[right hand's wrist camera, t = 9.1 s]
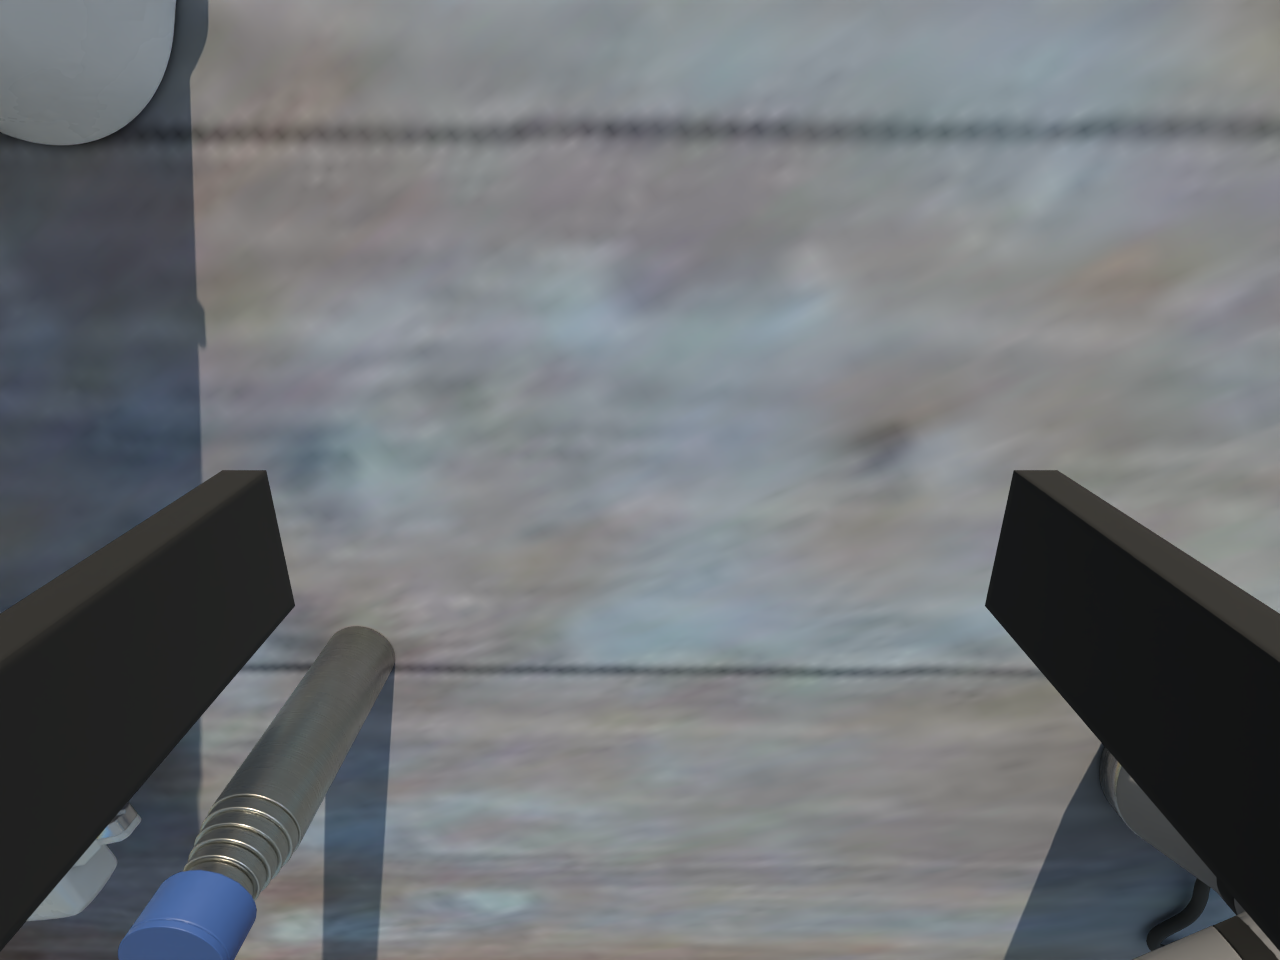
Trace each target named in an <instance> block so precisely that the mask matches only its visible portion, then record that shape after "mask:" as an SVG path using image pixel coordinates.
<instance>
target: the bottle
mask: <svg viewBox="0 0 1280 960" xmlns="http://www.w3.org/2000/svg"><path fill="white" fill-rule="evenodd" d="M394 664H395V654H394V650H393V648H392V646H391V644H390V643H389V642H388V640H387V639H386V638H385V637H384V636H382V635H381V634H380V633H378V632H376V631H374V630H372V629H369V628H365V627H348V628H345V629H342V630H340V631H338V632H337V633H336V634H334V635H333V636H332V638H331V639H330V641H329V642H328V643H327V645H326V646H325V648H324V649H323V651H322V652H321V653H320V655H319V656H318V658H317V659H316V660H315V662H314V663H313V665H312V666H311V667H310V669H309V670H308V672H307V673H306V675H305V676H304V677H303V679H302V680H301V682H300V683H299V684H298V686H297V687H296V689H295V690H294V691H293V693H292V694H291V696H290V697H289V699H288V700H287V701H286V703H285V704H284V706H283V707H282V708H281V710H280V711H279V713H278V714H277V715H276V717H275V718H274V720H273V721H272V723H271V724H270V725H269V727H268V728H267V730H266V731H265V732H264V734H263V735H262V737H261V738H260V739H259V741H258V742H257V744H256V745H255V747H254V748H253V749H252V751H251V752H250V754H249V755H248V756H247V758H246V759H245V761H244V762H243V763H242V765H241V766H240V768H239V769H238V771H237V772H236V773H235V775H234V776H233V778H232V779H231V780H230V782H229V783H228V785H227V786H226V787H225V789H224V790H223V792H222V793H221V795H220V796H219V797H218V799H217V800H216V802H215V803H214V804H213V806H212V807H211V809H210V810H209V813H208V816H207V817H206V819H205V820H204V821H203V823H202V826H201V829H200V833H199V834H198V836H197V837H196V840H195V843H194V848H193V849H192V851H191V852H190V854H189V858H188V863H187V864H186V865H185V867H184V869H183V871H190V870H204V871H211V872H215V873H220V874H222V875H224V876H227V877H229V878H231V879H233V880H235V881H237V882H238V883H240V884H241V885H242V886H243V887H244V888H245V889H246V890H247V891H248V892H249V893H250V894H251V896H252V897H253V900H254V901H255V900H256V899H257V898H258V896H259V894H260V892H261V891H263V890H264V889H265V888H266V887H267V886H268V885H269V883H270V881H271V880H272V879H273V878H274V877H275V876H276V875H277V874H278V873H279V871H280V870H281V868H282V867H283V866H284V865H285V864H286V863H287V862H288V861H289V860H290V858H291V856H292V854H293V852H295V850H296V849H297V848H298V846H299V844H300V842H301V840H302V839H303V837H304V835H305V833H306V831H307V829H308V827H309V825H310V824H311V822H312V820H313V818H314V816H315V814H316V812H317V810H318V808H319V807H320V805H321V803H322V801H323V799H324V797H325V795H326V793H327V791H328V790H329V788H330V786H331V784H332V782H333V780H334V778H335V776H336V774H337V773H338V771H339V769H340V767H341V765H342V763H343V761H344V759H345V758H346V756H347V754H348V752H349V750H350V748H351V746H352V744H353V742H354V741H355V739H356V737H357V735H358V733H359V731H360V729H361V727H362V725H363V724H364V722H365V720H366V718H367V716H368V714H369V712H370V710H371V709H372V707H373V705H374V703H375V701H376V699H377V697H378V695H379V693H380V692H381V690H382V688H383V686H384V684H385V682H386V680H387V678H388V676H389V675H390V673H391V671H392V669H393V667H394Z"/></svg>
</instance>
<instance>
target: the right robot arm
mask: <svg viewBox="0 0 1280 960" xmlns="http://www.w3.org/2000/svg"><path fill="white" fill-rule="evenodd" d="M294 606H295V603H294V599H293V594H292V589H291V585H290V580H289V575H288V571H287V566H286V561H285V556H284V552H283V547H282V542H281V538H280V533H279V528H278V524H277V519H276V514H275V510H274V505H273V500H272V495H271V491H270V486H269V481H268V477H267V472H266V470H222V471H221V472H219V473H218V474H216V475H215V476H213V477H212V478H210V479H209V480H207V481H205V482H204V483H202V484H201V485H199V486H198V487H196V488H195V489H193V490H191V491H190V492H188V493H187V494H185V495H184V496H182V497H181V498H179V499H178V500H176V501H174V502H173V503H171V504H170V505H168V506H167V507H165V508H164V509H162V510H160V511H159V512H157V513H156V514H154V515H153V516H151V517H150V518H148V519H147V520H145V521H143V522H142V523H140V524H139V525H137V526H136V527H134V528H133V529H131V530H129V531H128V532H126V533H125V534H123V535H122V536H120V537H119V538H117V539H116V540H114V541H112V542H111V543H109V544H108V545H106V546H105V547H103V548H102V549H100V550H98V551H97V552H95V553H94V554H92V555H91V556H89V557H88V558H86V559H85V560H83V561H81V562H80V563H78V564H77V565H75V566H74V567H72V568H71V569H69V570H67V571H66V572H64V573H63V574H61V575H60V576H58V577H57V578H55V579H54V580H52V581H50V582H49V583H47V584H46V585H44V586H43V587H41V588H40V589H38V590H36V591H35V592H33V593H32V594H30V595H29V596H27V597H26V598H24V599H23V600H21V601H19V602H18V603H16V604H15V605H13V606H12V607H10V608H9V609H7V610H5V611H4V612H2V613H1V614H0V951H1V950H2V949H3V948H4V947H5V945H6V944H7V943H8V942H9V941H10V939H11V938H12V937H13V936H14V935H15V934H16V932H17V931H18V930H19V929H20V928H21V927H22V925H23V924H24V923H25V922H26V921H27V920H28V918H29V917H30V916H31V915H32V914H33V913H34V911H35V910H36V909H37V908H38V907H39V905H40V904H41V903H42V902H43V901H44V900H45V898H46V897H47V896H48V895H49V894H50V893H51V891H52V890H53V889H54V888H55V887H56V886H57V884H58V883H59V882H60V881H61V880H62V878H63V877H64V876H65V875H66V874H67V873H68V871H69V870H70V869H71V868H72V867H73V866H74V864H75V863H76V862H77V861H78V860H79V859H80V857H81V856H82V855H83V854H84V853H85V852H86V850H87V849H88V848H89V847H90V846H91V844H92V843H93V842H94V841H95V840H96V839H97V837H98V836H99V835H100V834H101V833H102V832H103V830H104V829H105V828H106V827H107V826H108V825H109V823H110V822H111V821H112V820H113V819H114V817H115V816H116V815H117V814H118V813H119V812H120V810H121V809H122V808H123V807H124V806H125V805H126V803H127V802H128V801H129V800H130V799H131V798H132V796H133V795H134V794H135V793H136V792H137V791H138V789H139V788H140V787H141V786H142V785H143V783H144V782H145V781H146V780H147V779H148V778H149V776H150V775H151V774H152V773H153V772H154V771H155V769H156V768H157V767H158V766H159V765H160V764H161V762H162V761H163V760H164V759H165V758H166V756H167V755H168V754H169V753H170V752H171V751H172V749H173V748H174V747H175V746H176V745H177V744H178V742H179V741H180V740H181V739H182V738H183V737H184V735H185V734H186V733H187V732H188V731H189V730H190V728H191V727H192V726H193V725H194V724H195V722H196V721H197V720H198V719H199V718H200V717H201V715H202V714H203V713H204V712H205V711H206V710H207V708H208V707H209V706H210V705H211V704H212V703H213V701H214V700H215V699H216V698H217V697H218V695H219V694H220V693H221V692H222V691H223V690H224V688H225V687H226V686H227V685H228V684H229V683H230V681H231V680H232V679H233V678H234V677H235V676H236V674H237V673H238V672H239V671H240V670H241V669H242V667H243V666H244V665H245V664H246V663H247V661H248V660H249V659H250V658H251V657H252V656H253V654H254V653H255V652H256V651H257V650H258V649H259V647H260V646H261V645H262V644H263V643H264V642H265V640H266V639H267V638H268V637H269V636H270V635H271V633H272V632H273V631H274V630H275V629H276V627H277V626H278V625H279V624H280V623H281V622H282V620H283V619H284V618H285V617H286V616H287V615H288V613H289V612H290V611H291V610H292V609H293V608H294ZM985 606H986V608H987V609H988V610H989V611H990V612H991V613H992V615H993V616H994V617H995V618H996V619H997V620H998V622H999V623H1000V624H1001V625H1002V626H1003V627H1004V629H1005V630H1006V631H1007V632H1008V633H1009V635H1010V636H1011V637H1012V638H1013V639H1014V640H1015V642H1016V643H1017V644H1018V645H1019V646H1020V647H1021V649H1022V650H1023V651H1024V652H1025V653H1026V654H1027V656H1028V657H1029V658H1030V659H1031V660H1032V661H1033V663H1034V664H1035V665H1036V666H1037V667H1038V669H1039V670H1040V671H1041V672H1042V673H1043V674H1044V676H1045V677H1046V678H1047V679H1048V680H1049V681H1050V683H1051V684H1052V685H1053V686H1054V687H1055V688H1056V690H1057V691H1058V692H1059V693H1060V694H1061V696H1062V697H1063V698H1064V699H1065V700H1066V701H1067V703H1068V704H1069V705H1070V706H1071V707H1072V708H1073V710H1074V711H1075V712H1076V713H1077V714H1078V715H1079V717H1080V718H1081V719H1082V720H1083V721H1084V722H1085V724H1086V725H1087V726H1088V727H1089V728H1090V730H1091V731H1092V732H1093V733H1094V734H1095V735H1096V737H1097V738H1098V739H1099V740H1100V741H1101V742H1102V744H1103V745H1104V746H1105V747H1104V750H1103V753H1102V757H1101V762H1100V782H1101V786H1102V790H1103V792H1104V794H1105V797H1106V798H1107V800H1108V802H1109V803H1110V804H1111V806H1112V807H1113V808H1114V810H1115V811H1116V812H1117V813H1118V815H1119V816H1120V817H1121V819H1122V820H1123V821H1124V822H1125V824H1126V825H1127V826H1128V827H1129V828H1130V829H1131V830H1132V831H1133V832H1134V833H1135V834H1136V835H1138V836H1139V837H1140V838H1142V839H1143V840H1145V841H1146V842H1148V843H1149V844H1150V845H1152V846H1153V847H1155V848H1156V849H1157V850H1159V851H1160V852H1162V853H1163V854H1164V855H1166V856H1167V857H1169V858H1170V859H1171V860H1173V861H1174V862H1176V863H1177V864H1178V865H1180V866H1181V867H1183V868H1184V869H1185V870H1187V871H1188V872H1190V873H1191V874H1192V875H1194V876H1195V877H1197V879H1196V882H1195V886H1194V891H1193V896H1192V899H1191V901H1190V903H1189V904H1188V905H1187V907H1186V908H1185V909H1184V910H1183V911H1181V912H1180V913H1178V914H1177V915H1175V916H1173V917H1171V918H1169V919H1168V920H1166V921H1164V922H1162V923H1160V924H1158V925H1157V926H1155V927H1154V928H1153V929H1152V930H1151V931H1150V932H1149V934H1148V936H1147V945H1148V947H1149V949H1150V950H1151V952H1149V953H1147V954H1144V955H1142V956H1140V957H1137V958H1135V959H1133V960H1280V614H1279V613H1278V612H1276V611H1275V610H1273V609H1271V608H1270V607H1268V606H1267V605H1265V604H1264V603H1262V602H1261V601H1259V600H1257V599H1256V598H1254V597H1253V596H1251V595H1250V594H1248V593H1247V592H1245V591H1244V590H1242V589H1240V588H1239V587H1237V586H1236V585H1234V584H1233V583H1231V582H1230V581H1228V580H1226V579H1225V578H1223V577H1222V576H1220V575H1219V574H1217V573H1216V572H1214V571H1213V570H1211V569H1209V568H1208V567H1206V566H1205V565H1203V564H1202V563H1200V562H1199V561H1197V560H1195V559H1194V558H1192V557H1191V556H1189V555H1188V554H1186V553H1185V552H1183V551H1182V550H1180V549H1178V548H1177V547H1175V546H1174V545H1172V544H1171V543H1169V542H1168V541H1166V540H1164V539H1163V538H1161V537H1160V536H1158V535H1157V534H1155V533H1154V532H1152V531H1151V530H1149V529H1147V528H1146V527H1144V526H1143V525H1141V524H1140V523H1138V522H1137V521H1135V520H1133V519H1132V518H1130V517H1129V516H1127V515H1126V514H1124V513H1123V512H1121V511H1120V510H1118V509H1116V508H1115V507H1113V506H1112V505H1110V504H1109V503H1107V502H1106V501H1104V500H1102V499H1101V498H1099V497H1098V496H1096V495H1095V494H1093V493H1092V492H1090V491H1089V490H1087V489H1085V488H1084V487H1082V486H1081V485H1079V484H1078V483H1076V482H1075V481H1073V480H1071V479H1070V478H1068V477H1067V476H1065V475H1064V474H1062V473H1061V472H1059V471H1058V470H1014V472H1013V477H1012V481H1011V486H1010V491H1009V495H1008V500H1007V505H1006V510H1005V514H1004V519H1003V524H1002V528H1001V533H1000V538H999V542H998V547H997V552H996V556H995V561H994V566H993V571H992V575H991V580H990V585H989V589H988V594H987V599H986V603H985ZM1210 888H1212V889H1213V890H1215V891H1216V892H1217V893H1218V894H1219V895H1220V896H1221V897H1222V899H1223V900H1224V901H1225V902H1226V903H1227V905H1228V906H1229V907H1230V908H1231V909H1232V911H1233V912H1234V913H1235V914H1236V916H1234V917H1232V918H1230V919H1227V920H1225V921H1223V922H1220V923H1218V924H1216V925H1213V926H1210V927H1208V928H1206V929H1203V930H1201V931H1198V932H1196V933H1194V934H1191V935H1189V936H1187V937H1184V938H1182V939H1180V940H1177V941H1175V942H1173V943H1170V944H1168V945H1162V944H1160V943H1161V942H1162V941H1163V940H1164V939H1165V938H1167V937H1168V936H1170V935H1172V934H1174V933H1176V932H1178V931H1180V930H1182V929H1184V928H1185V927H1187V926H1189V925H1190V924H1192V923H1193V922H1194V921H1195V920H1196V919H1197V918H1198V917H1199V916H1200V915H1201V913H1202V912H1203V910H1204V908H1205V906H1206V903H1207V900H1208V896H1209V891H1210Z"/></svg>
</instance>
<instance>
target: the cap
mask: <svg viewBox="0 0 1280 960" xmlns="http://www.w3.org/2000/svg"><path fill="white" fill-rule="evenodd" d="M256 911H257V909H256V905H255V902H254V900H253V897H252V896H251V894H250V893H249V892H248V891H247V890H246V889H245V888H244V887H243V886H242V885H241V884H240V883H238V882H237V881H235V880H233V879H231V878H229V877H227V876H224V875H222V874H220V873H215V872H211V871H204V870H190V871H183V872H179V873H177V874H174V875H172V876H171V877H169V878H168V879H166V880H165V881H164V882H163V883H162V884H161V886H160V887H159V889H158V890H157V891H156V893H155V894H154V896H153V897H152V899H151V900H150V901H149V903H148V904H147V906H146V907H145V909H144V910H143V911H142V913H141V914H140V916H139V917H138V919H137V920H136V921H135V923H134V924H133V926H132V927H131V929H130V930H129V931H128V933H127V934H126V936H125V937H124V939H123V940H122V941H121V943H120V945H119V949H118V958H119V960H234V959H235V957H236V955H237V953H238V951H239V949H240V948H241V946H242V944H243V942H244V940H245V938H246V936H247V934H248V933H249V931H250V929H251V927H252V925H253V923H254V921H255V918H256Z"/></svg>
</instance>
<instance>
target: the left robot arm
mask: <svg viewBox="0 0 1280 960" xmlns="http://www.w3.org/2000/svg"><path fill="white" fill-rule="evenodd" d="M175 9H176V0H0V132H1V133H4V134H6V135H9V136H12V137H15V138H18V139H21V140H25V141H29V142H34V143H39V144H46V145H75V144H82V143H87V142H91V141H95V140H98V139H101V138H103V137H106V136H108V135H110V134H112V133H114V132H116V131H118V130H119V129H121V128H123V127H124V126H125V125H127V124H128V123H129V122H131V121H132V120H133V119H134V118H135V117H136V116H137V115H138V114H139V113H140V112H141V111H142V110H143V109H144V108H145V107H146V105H147V104H148V103H149V101H150V100H151V99H152V97H153V95H154V94H155V92H156V90H157V89H158V87H159V85H160V83H161V81H162V78H163V76H164V73H165V70H166V68H167V64H168V61H169V57H170V53H171V48H172V42H173V35H174V23H175ZM140 822H141V817H140V816H139V815H138V813H137V812H136V811H135V809H134V808H133V807H132V806H131V804H130V803H129V802H127V803H126V805H125V806H124V807H123V808H122V809H121V810H120V812H119V813H118V814H117V815H116V816H115V817H114V819H113V820H112V821H111V822H110V823H109V825H108V826H107V827H106V828H105V829H104V830H103V832H102V833H101V834H100V835H99V836H98V837H97V839H96V840H95V841H94V842H93V843H92V844H91V846H90V847H89V848H88V849H87V850H86V852H85V853H84V854H83V855H82V856H81V857H80V859H79V860H78V861H77V862H76V863H75V864H74V866H73V867H72V868H71V869H70V870H69V871H68V873H67V874H66V875H65V876H64V877H63V878H62V880H61V881H60V882H59V883H58V884H57V886H56V887H55V888H54V889H53V890H52V891H51V893H50V894H49V895H48V896H47V897H46V898H45V900H44V901H43V902H42V903H41V904H40V905H39V907H38V908H37V909H36V910H35V911H34V913H33V914H32V915H31V916H30V917H29V918H28V920H27V921H38V920H49V919H58V918H65V917H71V916H74V915H77V914H79V913H80V912H82V911H83V910H84V909H85V908H86V907H87V906H88V905H89V904H90V903H91V902H92V901H93V900H94V899H95V897H96V896H97V895H98V894H99V892H100V891H101V890H102V889H103V887H104V886H105V884H106V883H107V882H108V880H109V879H110V877H111V875H112V874H113V872H114V870H115V868H116V866H117V859H116V857H115V855H114V854H113V853H112V851H111V850H110V849H109V848H108V846H107V845H106V844H110V843H115V842H120V841H122V840H124V839H126V838H127V837H129V836H130V835H131V833H132V832H133V831H134V830H135V828H136V827H137V826H138V825H139V823H140Z"/></svg>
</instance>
